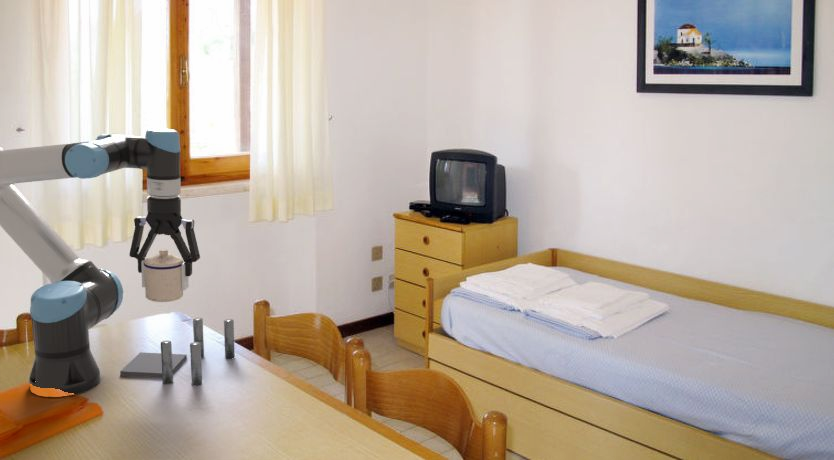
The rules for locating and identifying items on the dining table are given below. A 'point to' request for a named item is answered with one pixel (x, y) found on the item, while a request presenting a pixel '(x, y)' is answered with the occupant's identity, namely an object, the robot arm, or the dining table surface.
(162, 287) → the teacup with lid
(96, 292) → the robot arm
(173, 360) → the coaster
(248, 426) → the dining table surface
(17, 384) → the dining table surface
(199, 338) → the post back left
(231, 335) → the post back right
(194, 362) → the post front right
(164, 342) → the post front left
